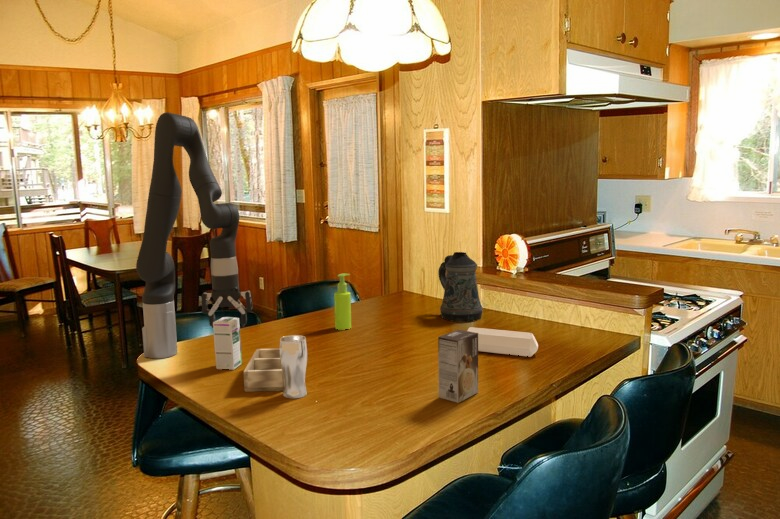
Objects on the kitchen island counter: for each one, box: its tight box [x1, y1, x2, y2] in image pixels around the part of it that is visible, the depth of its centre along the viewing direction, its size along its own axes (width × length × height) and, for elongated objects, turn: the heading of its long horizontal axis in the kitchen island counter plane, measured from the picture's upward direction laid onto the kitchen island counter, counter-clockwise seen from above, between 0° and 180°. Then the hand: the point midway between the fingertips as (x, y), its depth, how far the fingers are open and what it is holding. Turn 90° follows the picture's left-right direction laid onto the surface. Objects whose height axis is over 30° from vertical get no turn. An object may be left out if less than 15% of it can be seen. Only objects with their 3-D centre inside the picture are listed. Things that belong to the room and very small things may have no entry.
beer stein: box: [437, 251, 484, 322], centre depth 234 cm, size 16×19×25 cm
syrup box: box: [212, 316, 243, 371], centre depth 178 cm, size 6×6×14 cm
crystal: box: [466, 326, 539, 358], centre depth 191 cm, size 7×7×24 cm
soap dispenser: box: [333, 272, 352, 331], centre depth 220 cm, size 6×7×20 cm
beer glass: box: [279, 334, 308, 400], centre depth 155 cm, size 7×7×15 cm
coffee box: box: [437, 329, 479, 404], centre depth 153 cm, size 9×6×16 cm
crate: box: [243, 347, 284, 393], centre depth 169 cm, size 11×20×6 cm, turn 3°
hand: (228, 326), depth 178 cm, fingers open, 8 cm apart
